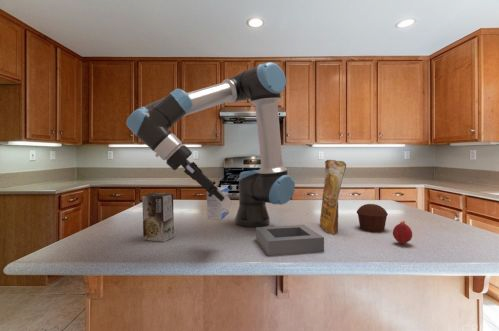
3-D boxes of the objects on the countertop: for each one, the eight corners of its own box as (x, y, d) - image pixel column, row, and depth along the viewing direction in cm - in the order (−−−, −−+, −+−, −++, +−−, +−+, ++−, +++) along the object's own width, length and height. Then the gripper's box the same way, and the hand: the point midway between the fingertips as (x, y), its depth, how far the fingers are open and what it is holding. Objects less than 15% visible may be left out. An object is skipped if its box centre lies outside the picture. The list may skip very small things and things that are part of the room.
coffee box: (174, 237, 102) (174, 193, 101) (163, 242, 96) (163, 196, 95) (154, 234, 105) (153, 192, 104) (142, 239, 99) (141, 194, 98)
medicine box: (221, 220, 81) (220, 190, 80) (206, 219, 82) (206, 190, 81) (228, 214, 88) (228, 187, 88) (215, 213, 89) (215, 186, 89)
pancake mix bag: (332, 223, 122) (332, 159, 121) (346, 235, 103) (347, 160, 102) (316, 222, 122) (317, 159, 121) (328, 235, 103) (329, 160, 102)
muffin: (392, 229, 112) (392, 204, 111) (381, 235, 104) (382, 208, 104) (362, 224, 120) (363, 201, 120) (351, 229, 113) (351, 204, 112)
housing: (256, 239, 98) (256, 227, 98) (303, 236, 102) (303, 224, 102) (268, 256, 83) (268, 241, 82) (324, 251, 86) (324, 237, 86)
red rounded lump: (411, 248, 89) (412, 223, 89) (391, 245, 92) (392, 221, 92) (412, 243, 94) (412, 220, 94) (393, 240, 97) (393, 218, 97)
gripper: (167, 160, 92) (217, 206, 96) (160, 163, 70) (224, 221, 75) (184, 144, 92) (232, 190, 96) (181, 142, 71) (243, 200, 75)
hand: (228, 203), depth 85 cm, fingers closed on medicine box, 9 cm apart
